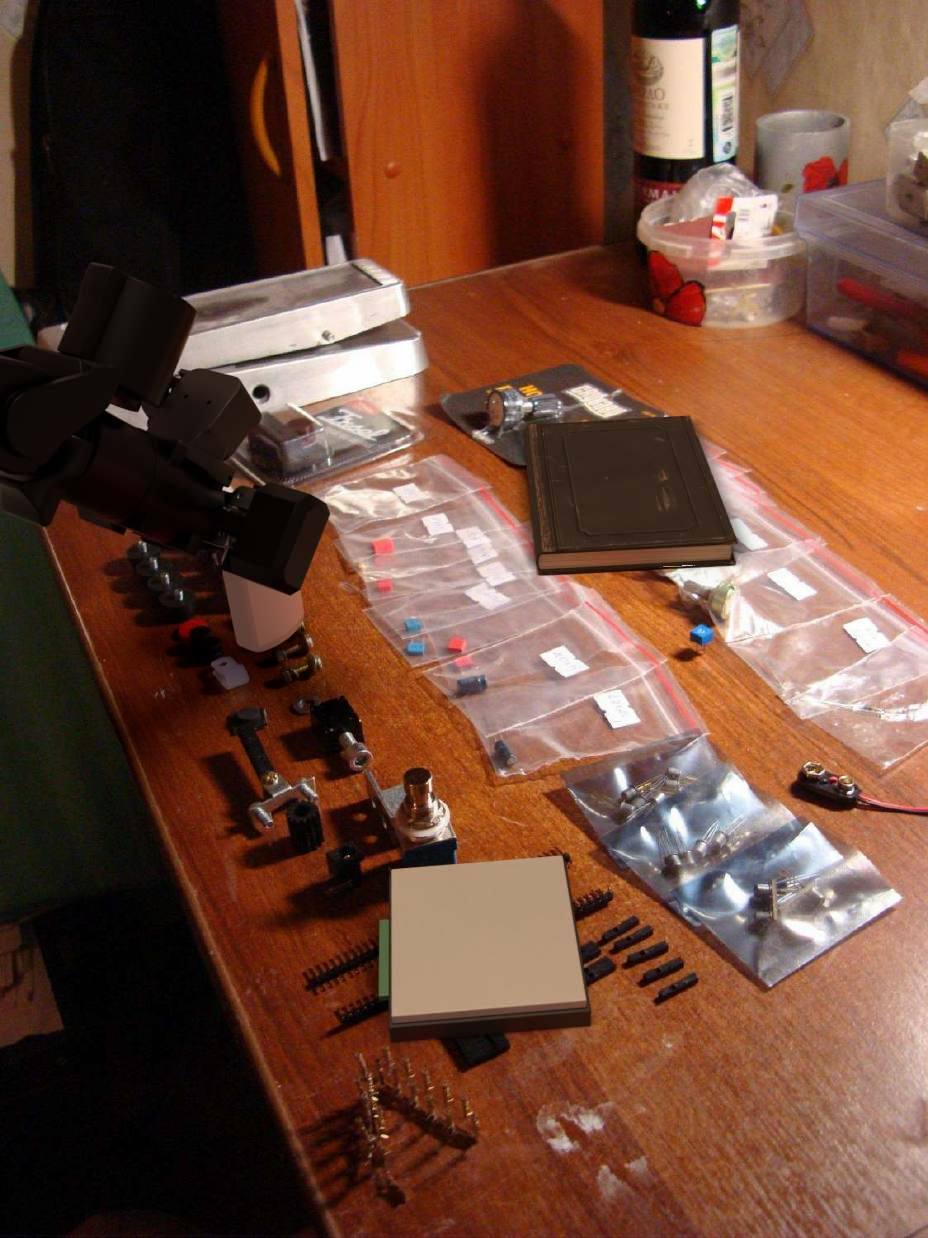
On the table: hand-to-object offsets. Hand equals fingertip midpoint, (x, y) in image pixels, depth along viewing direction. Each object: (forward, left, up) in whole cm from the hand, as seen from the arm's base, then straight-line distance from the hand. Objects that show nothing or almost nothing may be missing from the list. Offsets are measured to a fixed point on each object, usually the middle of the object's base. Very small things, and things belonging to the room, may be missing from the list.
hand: (271, 547), depth 82 cm
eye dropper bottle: (0, -1, -7) cm, 7 cm away
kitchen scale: (+24, -23, -9) cm, 34 cm away
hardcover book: (+19, +28, -9) cm, 35 cm away
